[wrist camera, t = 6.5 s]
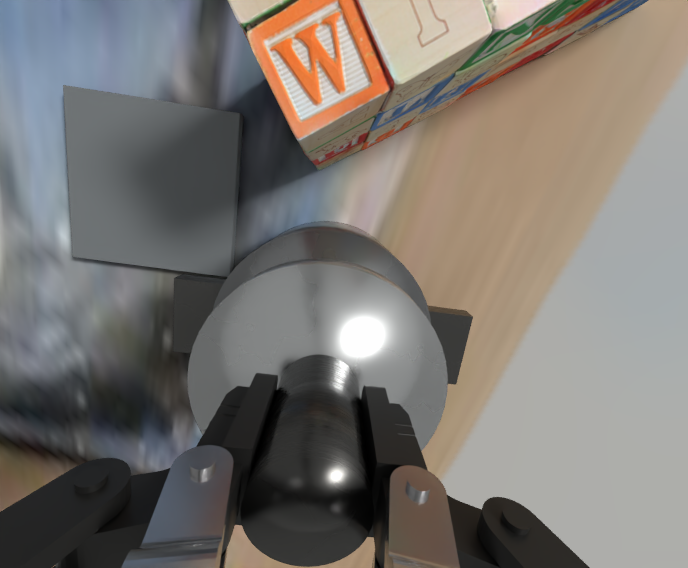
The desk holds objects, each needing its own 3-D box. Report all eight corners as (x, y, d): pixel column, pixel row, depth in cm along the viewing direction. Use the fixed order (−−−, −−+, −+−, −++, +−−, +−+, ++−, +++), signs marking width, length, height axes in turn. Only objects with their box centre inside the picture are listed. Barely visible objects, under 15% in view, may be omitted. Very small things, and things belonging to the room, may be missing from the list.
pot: (218, 205, 22) (165, 207, 15) (449, 238, 22) (498, 254, 16) (211, 358, 24) (162, 420, 17) (417, 382, 25) (448, 450, 18)
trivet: (73, 89, 20) (63, 85, 19) (243, 116, 20) (239, 113, 20) (81, 254, 22) (72, 256, 21) (233, 274, 23) (229, 277, 22)
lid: (205, 241, 12) (76, 281, 6) (461, 276, 13) (575, 345, 7) (196, 461, 14) (94, 649, 8) (413, 483, 15) (466, 675, 9)
